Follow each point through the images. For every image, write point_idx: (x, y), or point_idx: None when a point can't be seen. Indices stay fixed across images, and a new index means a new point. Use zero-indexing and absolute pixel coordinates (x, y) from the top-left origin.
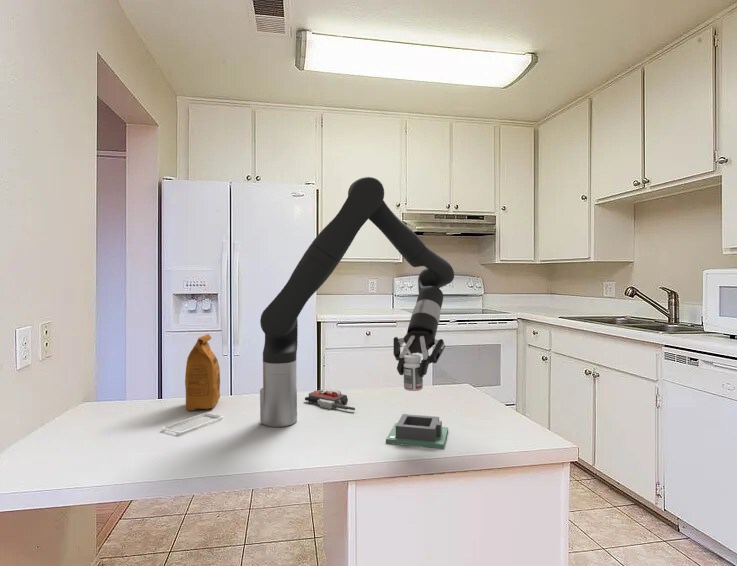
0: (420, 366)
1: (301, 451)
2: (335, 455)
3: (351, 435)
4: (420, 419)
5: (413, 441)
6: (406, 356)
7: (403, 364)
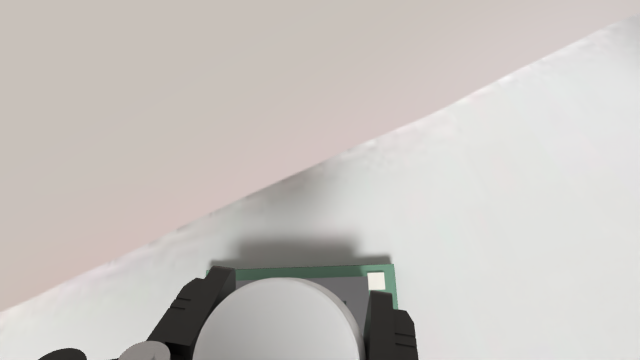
0: (212, 295)
1: (597, 141)
2: (494, 143)
3: (529, 302)
4: None
5: (302, 268)
6: (330, 315)
7: (367, 356)
